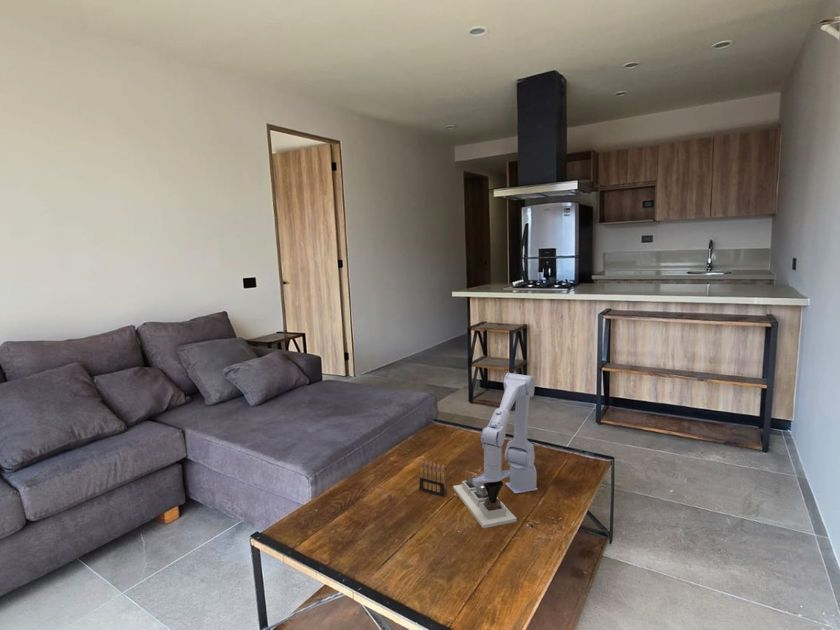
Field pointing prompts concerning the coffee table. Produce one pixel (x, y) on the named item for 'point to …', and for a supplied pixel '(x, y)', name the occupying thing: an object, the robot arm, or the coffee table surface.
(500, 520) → the mount board
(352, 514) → the coffee table surface
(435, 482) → the ammunition clip
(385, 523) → the coffee table surface
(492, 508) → the knob walnut
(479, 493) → the knob steel
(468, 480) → the knob graphite
